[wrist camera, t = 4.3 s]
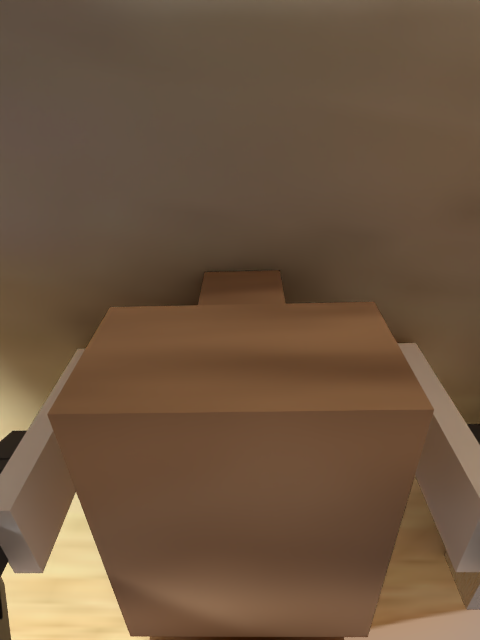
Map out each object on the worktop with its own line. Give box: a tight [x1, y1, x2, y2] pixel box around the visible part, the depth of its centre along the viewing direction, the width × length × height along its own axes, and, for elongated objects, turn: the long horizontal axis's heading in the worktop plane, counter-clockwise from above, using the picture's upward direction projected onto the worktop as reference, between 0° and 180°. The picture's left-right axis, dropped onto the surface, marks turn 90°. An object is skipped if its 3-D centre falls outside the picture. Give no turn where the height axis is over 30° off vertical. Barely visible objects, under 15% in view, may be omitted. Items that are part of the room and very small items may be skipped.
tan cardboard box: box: [47, 270, 434, 637], centre depth 13 cm, size 9×7×7 cm
